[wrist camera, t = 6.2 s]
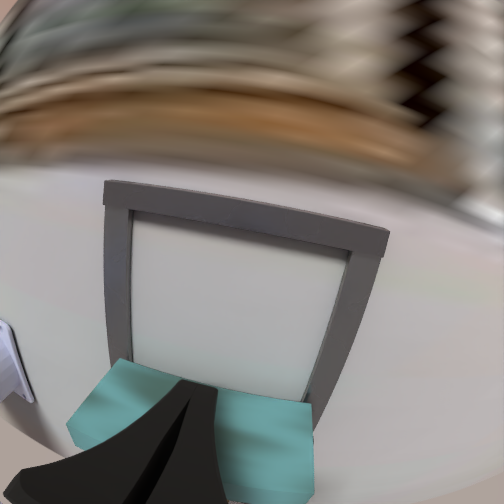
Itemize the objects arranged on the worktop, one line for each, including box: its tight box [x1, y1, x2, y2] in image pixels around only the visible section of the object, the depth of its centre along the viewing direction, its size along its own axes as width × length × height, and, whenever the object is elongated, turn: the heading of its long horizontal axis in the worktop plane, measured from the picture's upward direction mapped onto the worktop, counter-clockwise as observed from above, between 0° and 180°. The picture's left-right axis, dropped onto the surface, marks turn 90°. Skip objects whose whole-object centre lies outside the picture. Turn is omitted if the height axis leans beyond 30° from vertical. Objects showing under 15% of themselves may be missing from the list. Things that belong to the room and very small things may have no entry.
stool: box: [66, 358, 314, 504], centre depth 12 cm, size 11×13×5 cm
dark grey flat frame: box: [103, 180, 390, 431], centre depth 13 cm, size 11×20×1 cm, turn 170°
